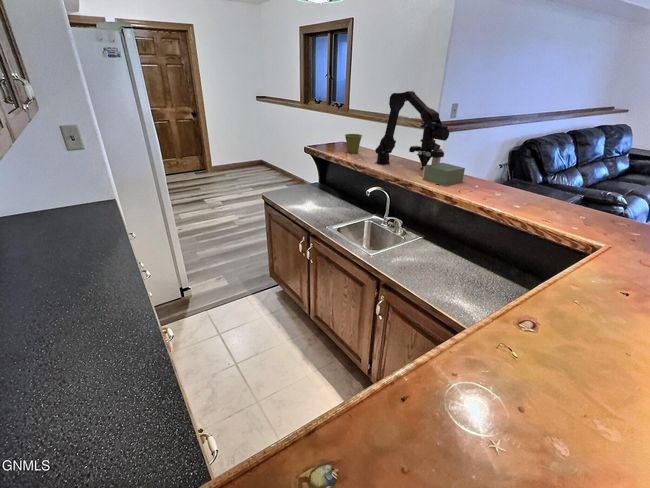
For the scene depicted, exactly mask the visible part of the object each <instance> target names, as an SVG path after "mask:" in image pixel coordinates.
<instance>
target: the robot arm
mask: <svg viewBox="0 0 650 488" xmlns="http://www.w3.org/2000/svg"><path fill="white" fill-rule="evenodd" d="M388 101H389V102H388V105H389V109H390V110H389V115H388V119H387V122H386V123H387V125H386V127H385V133H384V135H383V137H381V139H380V142H379V143H378V144H379V145H377V147H376V148H375V154H377V155H376V156H377V158H376V161H375V162H374V163H375V164H376V165H377V164H378V165H381V166H382V165H383V166H386V165H389V164H390V154H391V153H393V150H394V149H395V148H396V143H397V140H395V138H394V135H395V131H396V127H397V123H398V119H399V116H400V115H399V114H400V111H401V110H402V108H403V107H404V105H405V103H406V102H409V104H410V105H411V106H412V107H413V108H414V109H415V110H416V111H417V112H418V113H419V115H420V119H421V120H422V122H423V124H421V125H420V126H419V127H420V128H422V129H423V131H422V138H421V139H420V143H421V145H420V146H419V145H411V146H410V147H409V148H408V149H409V150H408V152H409V153H415V152H416V153H417V154H416V156H418V159H419V161H420V164H421V168H422V167H425V166H426V165H428V163H429V161H430V160H431V159H432V157H434V158H440V157H441V158H444V157H445V152H444V151H443V150H442V151H439V148H440V149H441V145H440V144H438V143H436V140H437V141H444V142H445V141H447V140H448V139H449V137H450V130H449V126H448V125H443V123H442V121H441V118H440V113H439V112H438V111H436V109H434V108H431V107H429V106H428V105H426V103H425V102H424V101H423V100H421V98H420V97H419V96H418V95H417V94H416V92H415V91H413V90H408V91H407V90H406V91H403V92H393V93H391V94H390V95H389V100H388ZM434 150H435V151H434Z"/></svg>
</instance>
